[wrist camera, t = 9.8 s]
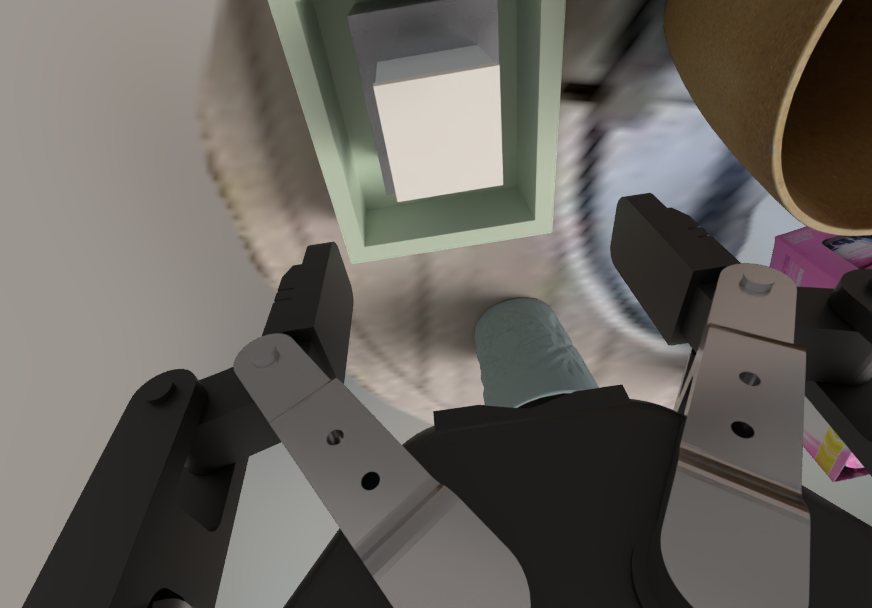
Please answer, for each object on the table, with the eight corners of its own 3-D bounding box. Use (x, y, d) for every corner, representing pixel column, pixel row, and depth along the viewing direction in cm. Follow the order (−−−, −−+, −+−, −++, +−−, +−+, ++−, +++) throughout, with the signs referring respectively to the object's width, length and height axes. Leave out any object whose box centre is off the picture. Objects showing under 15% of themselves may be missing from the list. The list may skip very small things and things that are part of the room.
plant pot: (558, 74, 28) (689, 170, 16) (736, -257, 20) (1311, -596, 7) (716, 154, 33) (910, 276, 20) (914, -85, 24) (1446, -118, 12)
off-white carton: (478, 43, 21) (499, 65, 17) (484, 146, 24) (503, 184, 20) (376, 61, 21) (373, 86, 17) (396, 161, 24) (397, 202, 20)
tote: (534, -75, 23) (570, -80, 18) (529, 194, 33) (552, 232, 29) (284, -32, 23) (258, -27, 19) (356, 221, 34) (351, 264, 29)
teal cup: (480, 287, 39) (508, 390, 30) (581, 294, 41) (636, 393, 32) (460, 361, 46) (478, 464, 36) (548, 364, 47) (586, 463, 38)
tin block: (476, -18, 24) (497, -9, 19) (484, 141, 30) (502, 176, 25) (354, 3, 24) (346, 16, 19) (386, 157, 30) (386, 195, 25)
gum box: (773, 223, 38) (920, 327, 27) (871, 191, 36) (1064, 287, 26) (744, 379, 53) (831, 484, 42) (812, 360, 51) (919, 464, 41)
